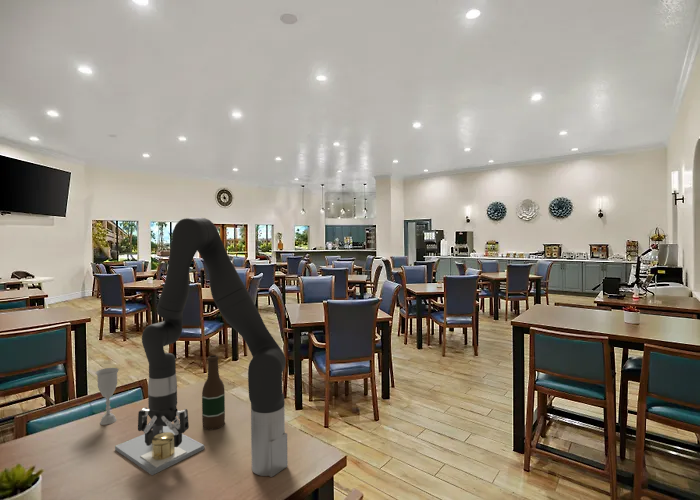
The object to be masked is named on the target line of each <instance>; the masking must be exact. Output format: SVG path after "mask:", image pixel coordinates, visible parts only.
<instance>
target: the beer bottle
mask: <svg viewBox="0 0 700 500" xmlns="http://www.w3.org/2000/svg"><path fill="white" fill-rule="evenodd" d="M219 359H220V358H219V355H218V354H217V355H216V354H211V355H209V356H208V357H207V362H208V365H207V378H206V381H205V382H204V385H203V387H202V392H201V406H202V407H201V408H202V409H201V415H202V416H201V417H202V418H201V419H202V428H203V429H205V430H208V431H210V430H218V429H220V428H221V427H223V426H224V425H225V420H226V418H225V417H226V409H225V408H226V399H225V395H226V394H225V393H226V391H225V390H226V389H225V385H224V382H223V380H222V379H221V378H220V372H219V362H218V361H219Z"/></svg>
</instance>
